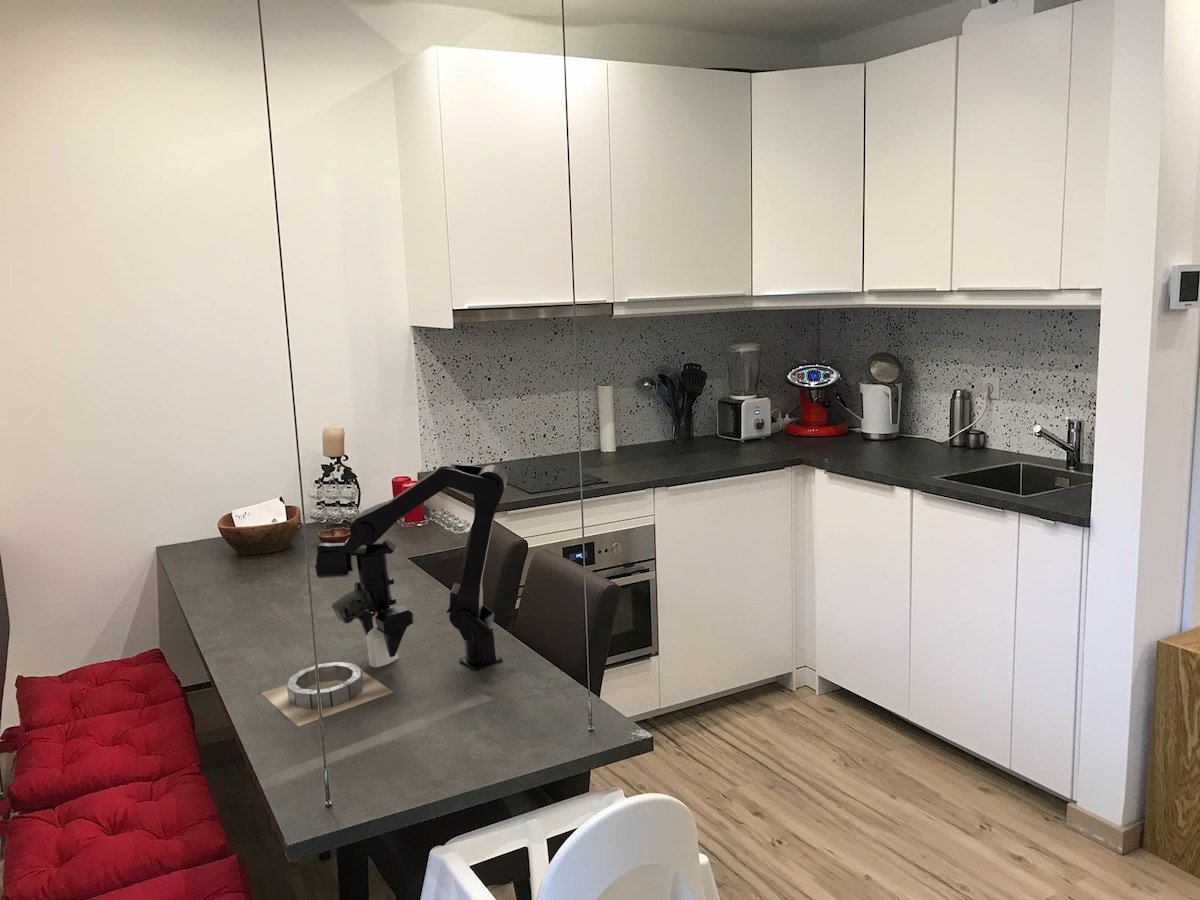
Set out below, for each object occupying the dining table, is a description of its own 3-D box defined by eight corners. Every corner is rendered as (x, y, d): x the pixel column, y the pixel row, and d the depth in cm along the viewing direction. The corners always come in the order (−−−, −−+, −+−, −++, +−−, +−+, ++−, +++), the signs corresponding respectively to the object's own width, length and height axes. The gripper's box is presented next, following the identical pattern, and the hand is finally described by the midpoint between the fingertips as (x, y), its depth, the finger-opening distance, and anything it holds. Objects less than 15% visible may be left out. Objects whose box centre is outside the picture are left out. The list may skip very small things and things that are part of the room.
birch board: (394, 697, 173) (393, 691, 172) (299, 732, 162) (298, 726, 161) (352, 668, 186) (351, 663, 186) (261, 699, 175) (260, 693, 175)
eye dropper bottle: (400, 668, 185) (393, 610, 183) (371, 674, 183) (364, 616, 181) (397, 660, 189) (390, 603, 187) (368, 665, 188) (362, 608, 185)
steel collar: (374, 691, 173) (372, 676, 172) (306, 716, 165) (304, 700, 164) (344, 670, 183) (343, 656, 182) (279, 693, 175) (277, 678, 174)
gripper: (314, 574, 185) (324, 649, 188) (355, 597, 170) (365, 677, 174) (367, 561, 192) (375, 633, 195) (410, 581, 177) (419, 659, 180)
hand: (382, 650), depth 186 cm, fingers closed on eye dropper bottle, 8 cm apart
